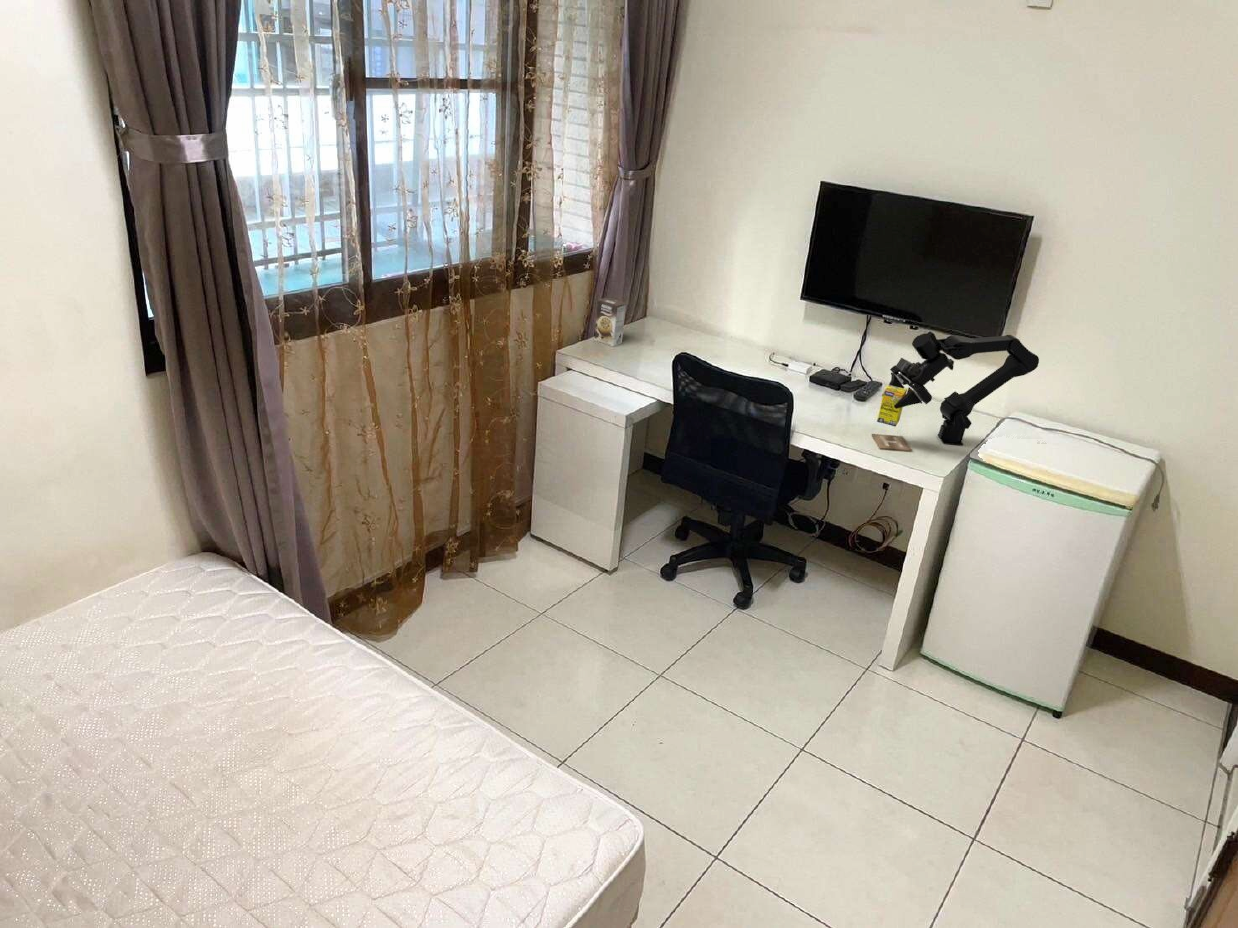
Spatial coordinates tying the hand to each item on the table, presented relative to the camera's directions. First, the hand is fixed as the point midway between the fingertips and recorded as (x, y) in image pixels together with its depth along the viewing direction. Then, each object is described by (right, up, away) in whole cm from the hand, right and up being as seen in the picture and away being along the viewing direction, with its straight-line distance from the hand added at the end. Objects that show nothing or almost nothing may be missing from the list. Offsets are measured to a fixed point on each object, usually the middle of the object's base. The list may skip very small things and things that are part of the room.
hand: (888, 402), depth 274 cm
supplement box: (+1, -6, +3) cm, 7 cm away
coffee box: (-88, +27, +65) cm, 112 cm away
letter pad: (+2, -13, +5) cm, 14 cm away
